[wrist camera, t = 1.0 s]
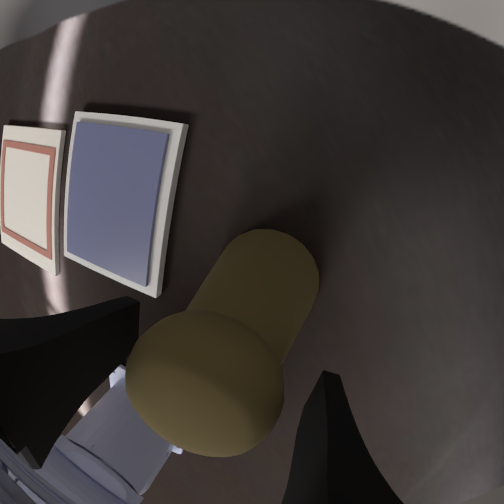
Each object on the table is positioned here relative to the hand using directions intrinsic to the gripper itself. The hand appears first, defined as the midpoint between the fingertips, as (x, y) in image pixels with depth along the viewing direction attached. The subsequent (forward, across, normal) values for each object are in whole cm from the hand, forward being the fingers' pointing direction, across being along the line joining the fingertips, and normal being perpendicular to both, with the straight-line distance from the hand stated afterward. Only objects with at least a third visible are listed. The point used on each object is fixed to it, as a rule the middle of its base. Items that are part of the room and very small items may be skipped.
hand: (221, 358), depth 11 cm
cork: (+8, 0, 0) cm, 8 cm away
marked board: (+8, +22, 0) cm, 23 cm away
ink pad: (+8, +11, -2) cm, 14 cm away
